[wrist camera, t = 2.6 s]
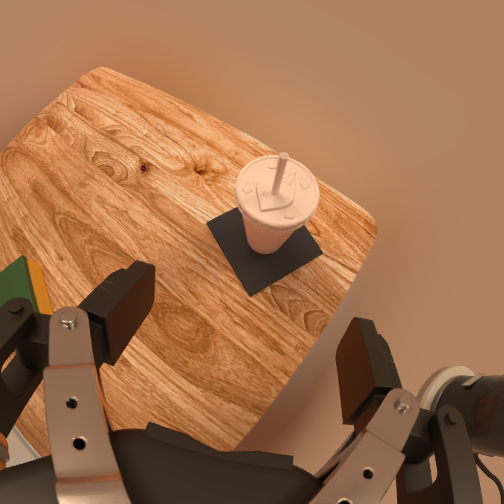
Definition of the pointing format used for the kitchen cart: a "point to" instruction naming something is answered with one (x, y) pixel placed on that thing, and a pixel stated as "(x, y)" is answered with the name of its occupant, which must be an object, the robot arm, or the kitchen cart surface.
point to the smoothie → (275, 200)
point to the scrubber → (25, 285)
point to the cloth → (253, 263)
